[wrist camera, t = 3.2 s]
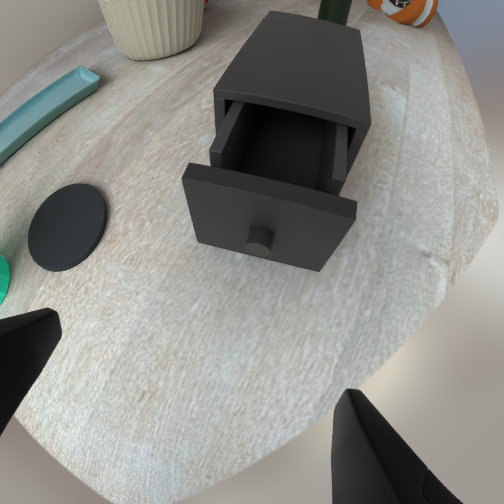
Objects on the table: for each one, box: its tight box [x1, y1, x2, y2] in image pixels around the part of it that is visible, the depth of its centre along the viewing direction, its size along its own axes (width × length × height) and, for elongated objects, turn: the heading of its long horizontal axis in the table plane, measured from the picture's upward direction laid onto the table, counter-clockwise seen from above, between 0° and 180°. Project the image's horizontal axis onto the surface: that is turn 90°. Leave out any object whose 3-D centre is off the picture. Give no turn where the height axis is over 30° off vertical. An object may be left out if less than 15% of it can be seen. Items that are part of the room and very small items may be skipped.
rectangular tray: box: [0, 66, 101, 165], centre depth 28 cm, size 26×9×2 cm, turn 137°
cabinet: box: [213, 11, 371, 177], centre depth 25 cm, size 20×11×10 cm, turn 166°
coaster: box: [28, 184, 107, 272], centre depth 23 cm, size 9×9×1 cm
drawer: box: [182, 101, 357, 272], centre depth 22 cm, size 20×9×8 cm, turn 166°
